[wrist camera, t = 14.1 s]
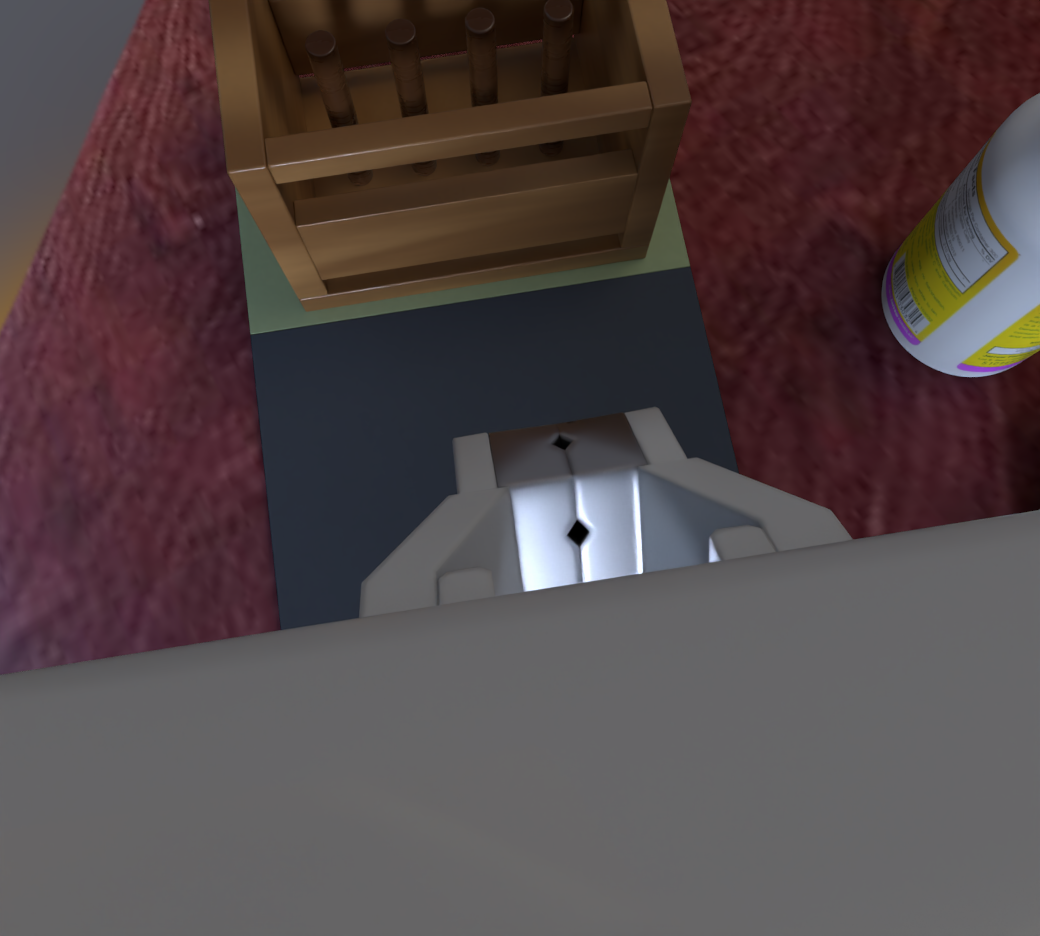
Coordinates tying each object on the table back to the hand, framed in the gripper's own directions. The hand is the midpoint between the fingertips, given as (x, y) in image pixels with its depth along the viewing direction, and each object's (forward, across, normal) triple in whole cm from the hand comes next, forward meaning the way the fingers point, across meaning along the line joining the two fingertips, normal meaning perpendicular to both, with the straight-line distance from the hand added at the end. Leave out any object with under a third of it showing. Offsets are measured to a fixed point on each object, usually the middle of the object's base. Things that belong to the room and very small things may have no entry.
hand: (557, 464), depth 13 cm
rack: (+27, 0, +2) cm, 27 cm away
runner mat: (+23, 0, +7) cm, 24 cm away
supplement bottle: (+22, -19, +8) cm, 30 cm away
